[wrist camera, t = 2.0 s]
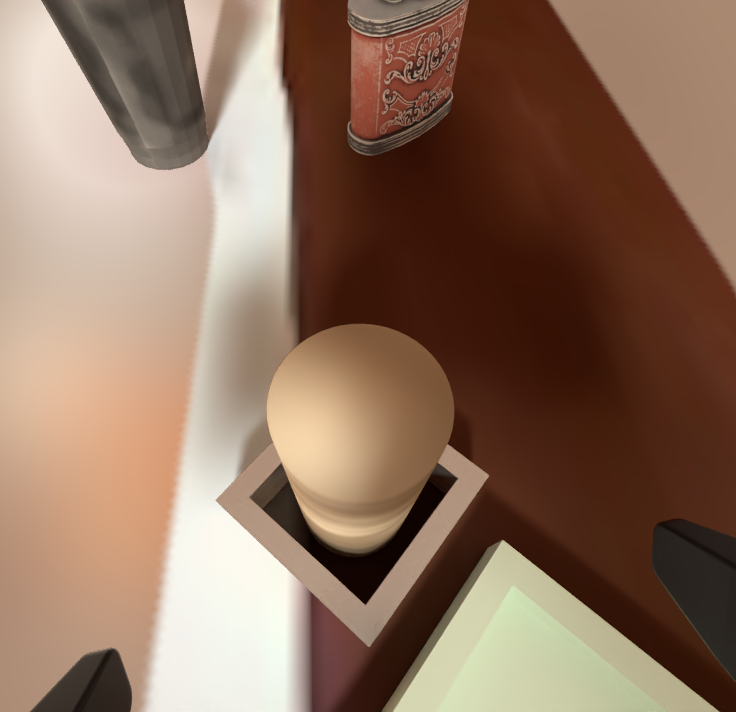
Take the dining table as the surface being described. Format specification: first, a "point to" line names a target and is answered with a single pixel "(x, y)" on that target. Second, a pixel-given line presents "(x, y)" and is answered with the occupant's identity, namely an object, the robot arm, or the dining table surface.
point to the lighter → (401, 69)
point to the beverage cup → (140, 73)
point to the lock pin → (359, 431)
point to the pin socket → (363, 619)
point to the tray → (532, 653)
